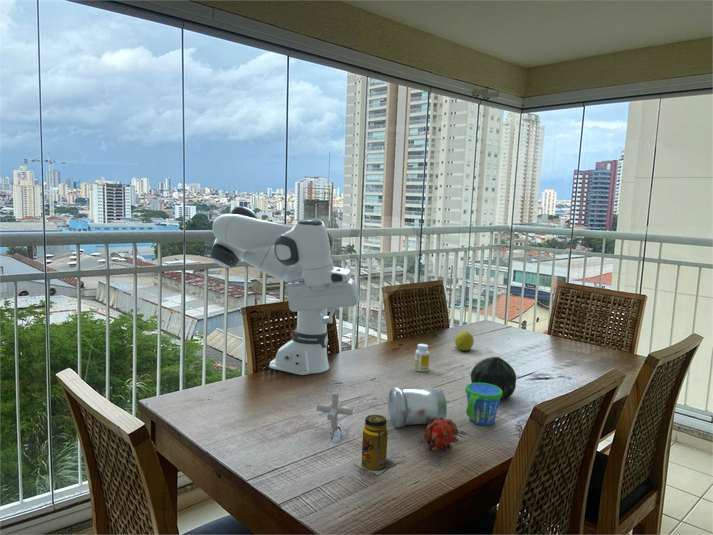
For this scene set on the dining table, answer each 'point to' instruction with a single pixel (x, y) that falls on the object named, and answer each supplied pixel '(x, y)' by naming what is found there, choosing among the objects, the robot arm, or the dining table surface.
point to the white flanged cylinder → (416, 406)
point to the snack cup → (482, 402)
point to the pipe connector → (334, 409)
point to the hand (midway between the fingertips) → (327, 323)
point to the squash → (495, 375)
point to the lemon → (464, 341)
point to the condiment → (375, 445)
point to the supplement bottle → (422, 358)
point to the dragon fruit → (441, 434)
